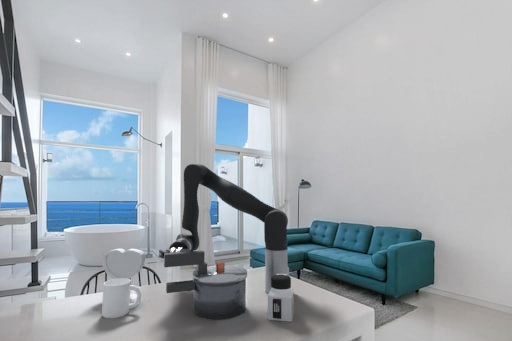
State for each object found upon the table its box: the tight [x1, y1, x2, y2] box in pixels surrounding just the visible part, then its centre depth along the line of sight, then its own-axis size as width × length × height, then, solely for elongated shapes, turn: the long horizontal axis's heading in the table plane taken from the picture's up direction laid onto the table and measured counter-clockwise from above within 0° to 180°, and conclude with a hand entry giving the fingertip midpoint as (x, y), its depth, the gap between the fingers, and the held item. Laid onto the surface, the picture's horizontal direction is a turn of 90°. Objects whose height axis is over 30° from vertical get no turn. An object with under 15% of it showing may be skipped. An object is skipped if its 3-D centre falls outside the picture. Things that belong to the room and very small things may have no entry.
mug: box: [101, 278, 142, 319], centre depth 95 cm, size 12×8×10 cm
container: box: [267, 274, 295, 323], centre depth 94 cm, size 8×8×13 cm
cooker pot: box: [165, 278, 247, 321], centre depth 98 cm, size 27×18×11 cm, turn 111°
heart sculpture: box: [101, 247, 146, 300], centre depth 111 cm, size 16×5×18 cm, turn 89°
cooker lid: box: [163, 250, 248, 284], centre depth 98 cm, size 28×19×9 cm, turn 111°
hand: (170, 258), depth 96 cm, fingers closed
